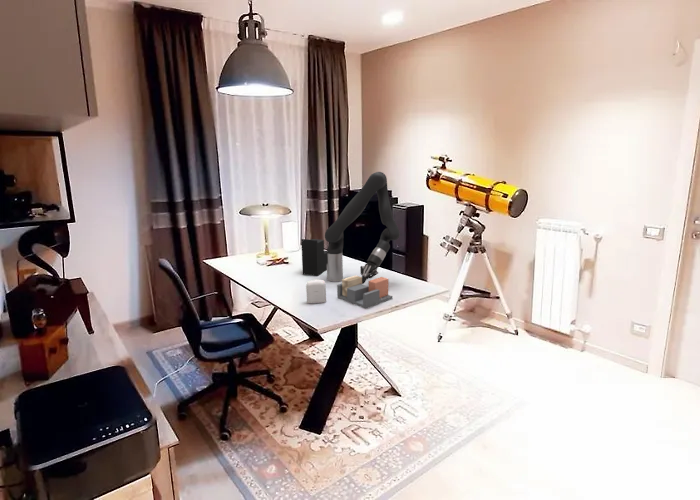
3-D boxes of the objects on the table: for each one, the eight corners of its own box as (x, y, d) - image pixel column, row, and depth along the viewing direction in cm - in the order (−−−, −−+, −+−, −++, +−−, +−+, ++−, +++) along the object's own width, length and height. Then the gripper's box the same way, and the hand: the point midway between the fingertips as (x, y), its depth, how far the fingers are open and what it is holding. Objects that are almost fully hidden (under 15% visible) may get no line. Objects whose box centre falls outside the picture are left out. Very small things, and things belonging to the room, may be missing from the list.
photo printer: (306, 304, 224) (305, 281, 220) (306, 301, 228) (305, 279, 225) (326, 303, 224) (325, 280, 221) (326, 300, 229) (325, 278, 226)
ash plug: (342, 295, 230) (342, 279, 228) (355, 290, 237) (355, 275, 235) (348, 297, 227) (348, 281, 225) (362, 292, 233) (361, 277, 231)
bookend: (317, 265, 294) (316, 232, 289) (331, 266, 291) (330, 232, 285) (302, 275, 273) (300, 239, 267) (317, 276, 269) (316, 240, 264)
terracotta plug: (368, 297, 227) (368, 280, 225) (381, 292, 234) (381, 276, 231) (375, 299, 223) (375, 283, 221) (388, 294, 230) (388, 278, 228)
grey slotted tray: (337, 297, 232) (337, 284, 230) (363, 289, 245) (363, 276, 243) (365, 308, 216) (365, 294, 214) (392, 298, 229) (392, 285, 227)
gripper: (365, 251, 243) (349, 276, 238) (382, 255, 233) (366, 282, 228) (371, 258, 247) (356, 283, 242) (388, 263, 238) (373, 289, 233)
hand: (361, 282), depth 235 cm, fingers closed
